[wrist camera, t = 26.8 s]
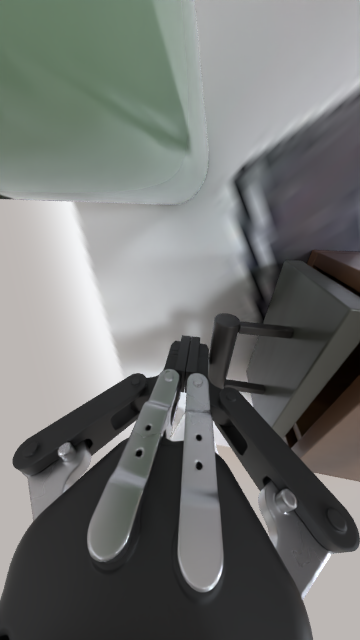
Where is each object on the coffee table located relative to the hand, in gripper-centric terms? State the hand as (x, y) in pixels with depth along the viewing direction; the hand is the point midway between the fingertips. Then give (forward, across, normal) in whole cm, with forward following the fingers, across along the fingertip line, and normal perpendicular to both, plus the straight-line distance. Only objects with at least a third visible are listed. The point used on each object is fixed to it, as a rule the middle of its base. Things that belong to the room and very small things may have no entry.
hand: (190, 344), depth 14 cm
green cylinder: (+4, +2, -12) cm, 13 cm away
